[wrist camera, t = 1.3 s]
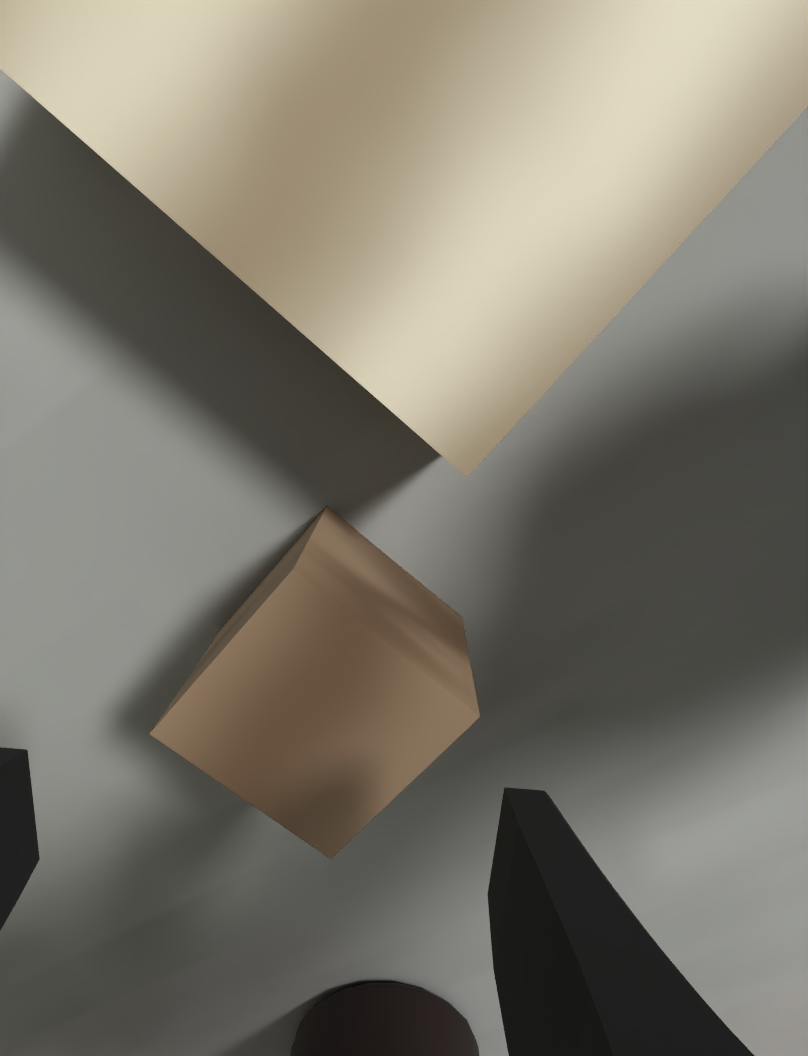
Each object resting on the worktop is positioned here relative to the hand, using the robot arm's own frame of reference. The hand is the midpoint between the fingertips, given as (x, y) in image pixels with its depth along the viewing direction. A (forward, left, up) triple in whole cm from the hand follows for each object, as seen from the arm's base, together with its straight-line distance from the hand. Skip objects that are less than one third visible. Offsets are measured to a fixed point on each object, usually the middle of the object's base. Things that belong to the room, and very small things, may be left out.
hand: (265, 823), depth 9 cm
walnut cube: (-1, 0, -9) cm, 9 cm away
